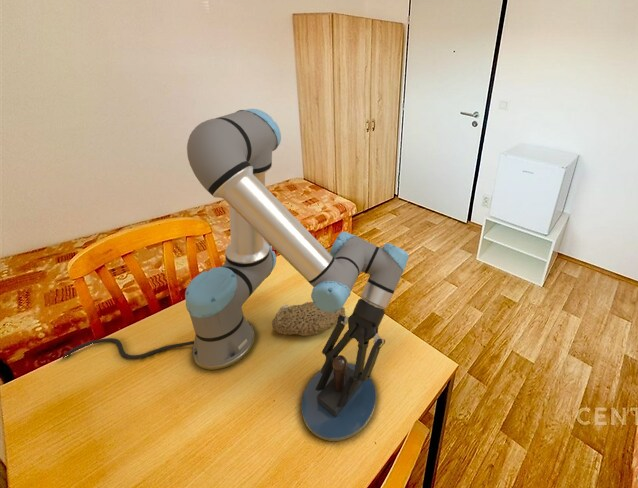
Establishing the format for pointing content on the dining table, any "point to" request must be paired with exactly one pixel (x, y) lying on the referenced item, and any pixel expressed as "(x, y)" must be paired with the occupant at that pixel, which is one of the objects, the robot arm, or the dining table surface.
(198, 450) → the dining table surface
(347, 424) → the plate
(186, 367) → the dining table surface
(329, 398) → the stamp
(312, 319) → the sponge
